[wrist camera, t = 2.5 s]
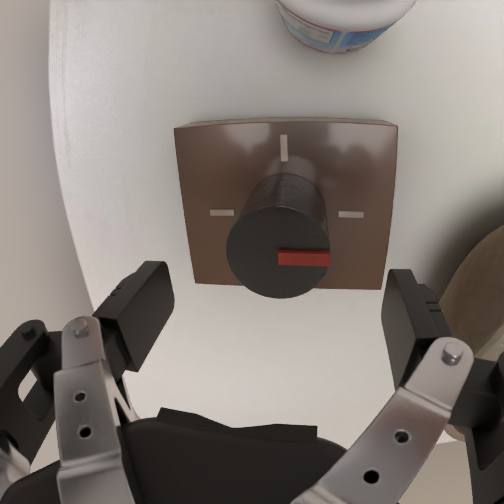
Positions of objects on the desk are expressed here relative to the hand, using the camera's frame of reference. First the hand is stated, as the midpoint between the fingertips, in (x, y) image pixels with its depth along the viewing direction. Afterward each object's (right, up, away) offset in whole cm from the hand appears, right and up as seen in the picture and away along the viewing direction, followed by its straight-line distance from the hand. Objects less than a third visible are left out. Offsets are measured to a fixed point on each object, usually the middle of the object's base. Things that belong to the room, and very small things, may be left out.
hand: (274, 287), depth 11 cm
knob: (+1, +3, +6) cm, 7 cm away
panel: (+2, +5, +9) cm, 10 cm away
